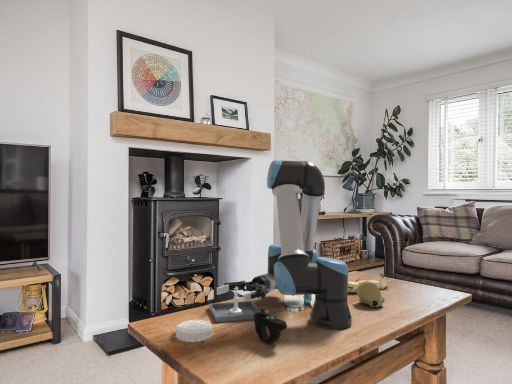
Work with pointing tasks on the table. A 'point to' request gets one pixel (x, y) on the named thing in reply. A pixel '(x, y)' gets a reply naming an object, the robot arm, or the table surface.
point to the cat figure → (354, 285)
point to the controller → (268, 326)
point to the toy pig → (369, 293)
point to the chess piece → (235, 303)
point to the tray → (222, 314)
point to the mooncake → (194, 330)
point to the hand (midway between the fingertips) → (230, 294)
